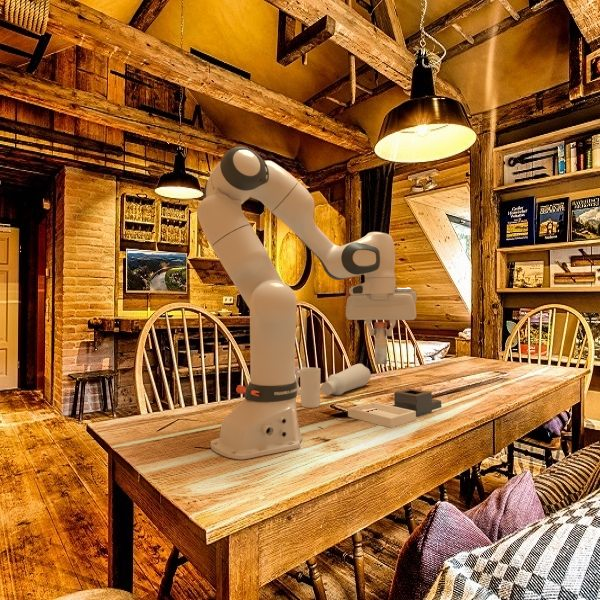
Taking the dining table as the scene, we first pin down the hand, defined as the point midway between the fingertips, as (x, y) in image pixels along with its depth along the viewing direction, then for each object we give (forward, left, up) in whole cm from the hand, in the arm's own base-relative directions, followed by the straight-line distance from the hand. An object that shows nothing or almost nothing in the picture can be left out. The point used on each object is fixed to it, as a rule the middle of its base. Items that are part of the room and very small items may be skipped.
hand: (380, 335), depth 122 cm
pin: (0, 0, -8) cm, 8 cm away
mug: (-5, +27, -24) cm, 37 cm away
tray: (0, 0, -24) cm, 24 cm away
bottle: (+20, +33, -24) cm, 46 cm away
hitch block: (+17, -2, -24) cm, 30 cm away
